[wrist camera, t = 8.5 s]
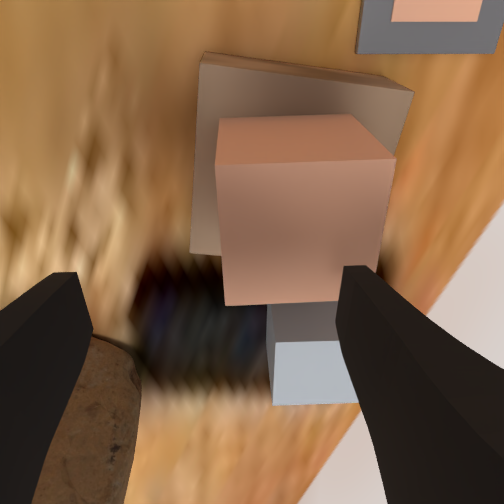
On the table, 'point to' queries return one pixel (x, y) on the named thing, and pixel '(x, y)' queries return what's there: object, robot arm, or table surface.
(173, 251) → the table surface
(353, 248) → the terracotta cube
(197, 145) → the walnut base
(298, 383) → the grey cube
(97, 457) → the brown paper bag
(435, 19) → the card
